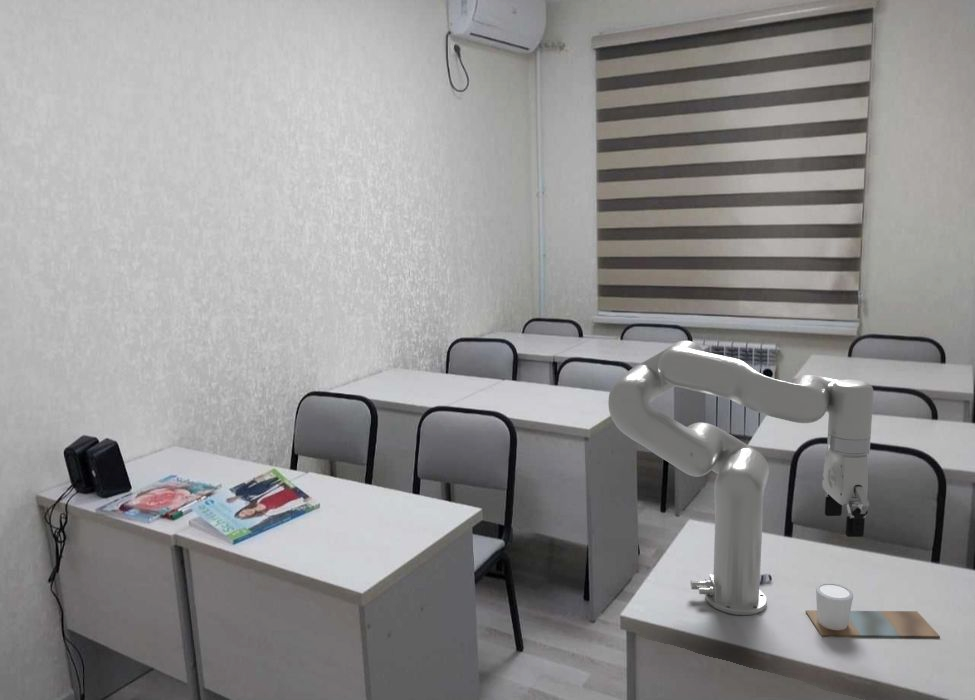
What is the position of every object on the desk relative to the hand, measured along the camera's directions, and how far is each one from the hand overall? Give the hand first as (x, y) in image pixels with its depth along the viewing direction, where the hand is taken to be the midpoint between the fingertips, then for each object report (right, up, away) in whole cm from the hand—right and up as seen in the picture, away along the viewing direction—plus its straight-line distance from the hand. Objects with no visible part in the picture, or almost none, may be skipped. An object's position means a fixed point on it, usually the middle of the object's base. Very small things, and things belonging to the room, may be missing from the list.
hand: (843, 525), depth 150 cm
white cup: (-1, -21, +3) cm, 21 cm away
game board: (+7, -21, +2) cm, 22 cm away
